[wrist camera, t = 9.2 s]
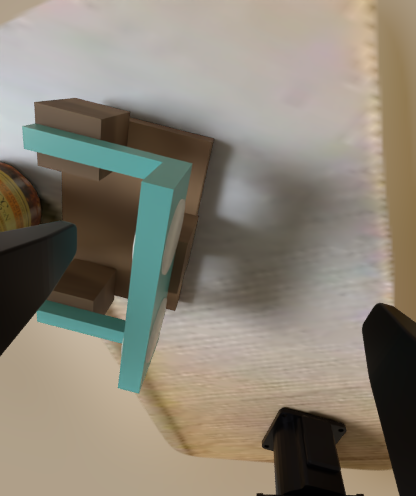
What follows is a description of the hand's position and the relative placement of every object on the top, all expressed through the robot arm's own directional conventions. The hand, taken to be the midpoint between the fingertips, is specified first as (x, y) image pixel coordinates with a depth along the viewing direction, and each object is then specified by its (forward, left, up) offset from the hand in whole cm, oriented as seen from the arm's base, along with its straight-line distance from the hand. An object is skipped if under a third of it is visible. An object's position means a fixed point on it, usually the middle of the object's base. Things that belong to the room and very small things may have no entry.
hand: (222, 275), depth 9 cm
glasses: (-5, +6, -7) cm, 11 cm away
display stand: (-5, +6, -12) cm, 15 cm away
